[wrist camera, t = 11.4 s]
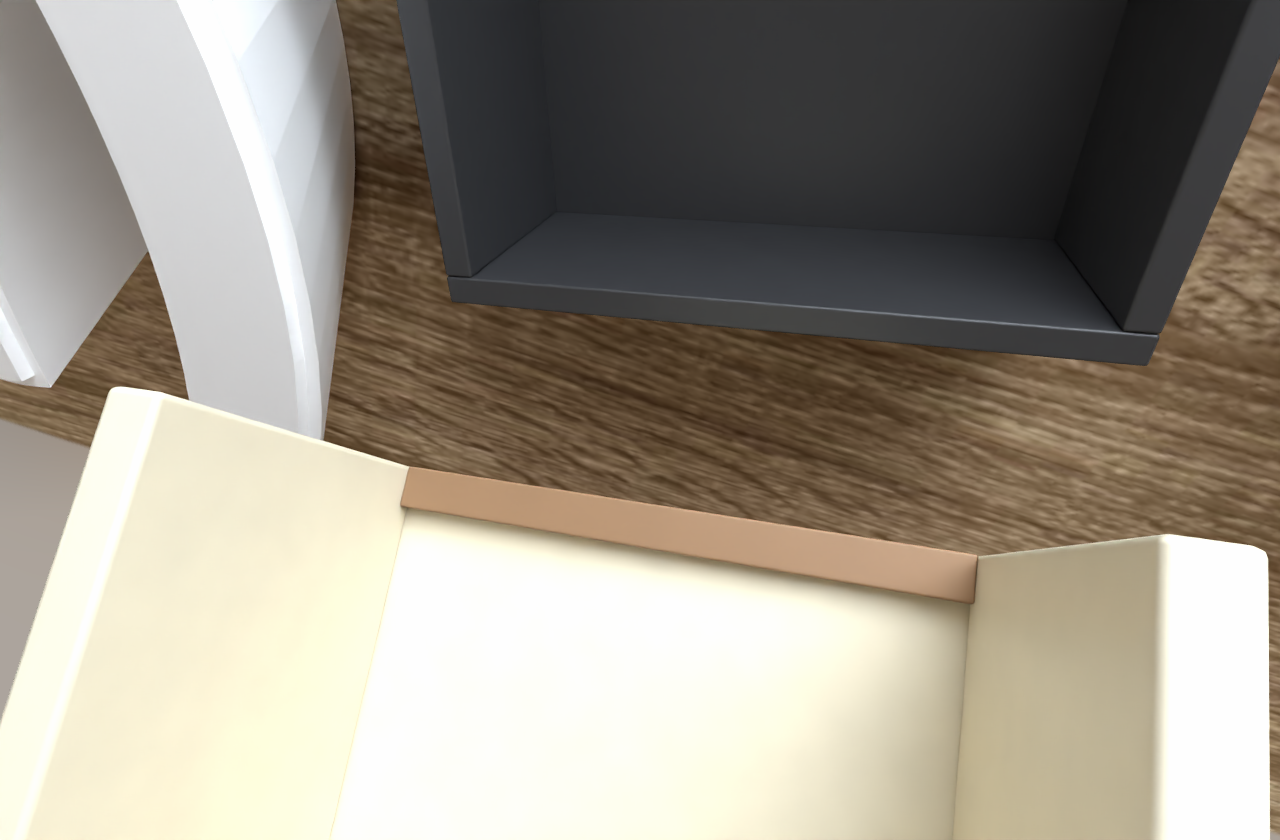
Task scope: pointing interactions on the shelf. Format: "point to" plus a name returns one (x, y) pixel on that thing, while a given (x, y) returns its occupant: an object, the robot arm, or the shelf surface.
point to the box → (601, 665)
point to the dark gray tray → (839, 160)
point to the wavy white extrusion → (179, 189)
